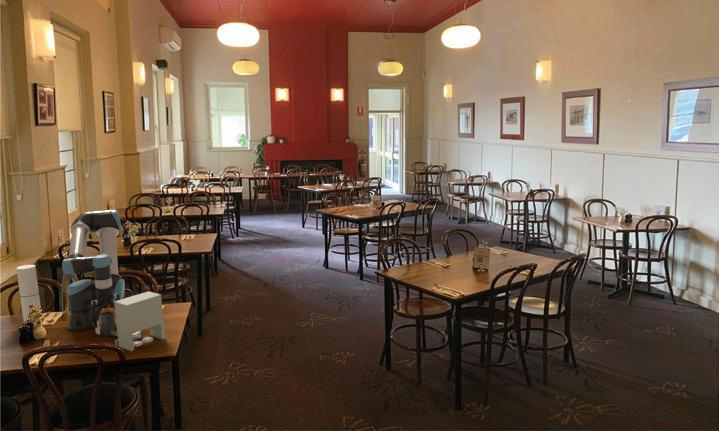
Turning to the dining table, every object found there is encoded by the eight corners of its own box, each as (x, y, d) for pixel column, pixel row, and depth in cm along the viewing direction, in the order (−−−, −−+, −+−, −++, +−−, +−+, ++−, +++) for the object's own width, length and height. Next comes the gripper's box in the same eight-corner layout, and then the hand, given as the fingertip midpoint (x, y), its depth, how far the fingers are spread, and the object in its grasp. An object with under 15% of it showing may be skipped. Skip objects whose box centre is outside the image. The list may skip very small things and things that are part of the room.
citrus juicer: (71, 319, 312) (65, 264, 306) (55, 318, 313) (48, 264, 308) (85, 312, 323) (79, 259, 317) (69, 311, 324) (62, 259, 319)
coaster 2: (140, 341, 278) (140, 339, 278) (149, 338, 282) (149, 336, 282) (146, 344, 275) (146, 341, 275) (155, 340, 279) (155, 338, 279)
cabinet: (119, 346, 272) (114, 301, 268) (152, 334, 286) (148, 291, 282) (131, 351, 266) (126, 305, 262) (165, 338, 280) (160, 294, 277)
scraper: (94, 337, 284) (91, 316, 282) (118, 329, 294) (116, 308, 292) (116, 346, 272) (114, 324, 270) (141, 337, 283) (139, 316, 281)
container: (21, 321, 310) (14, 267, 305) (39, 317, 316) (32, 263, 311) (26, 325, 304) (19, 270, 299) (44, 321, 310) (37, 266, 305)
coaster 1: (129, 345, 274) (128, 343, 273) (138, 342, 277) (138, 340, 277) (134, 348, 271) (134, 345, 270) (144, 344, 274) (144, 342, 274)
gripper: (85, 294, 272) (90, 339, 276) (129, 282, 290) (134, 324, 294) (77, 291, 277) (82, 335, 281) (121, 279, 295) (125, 321, 299)
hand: (108, 330), depth 287 cm, fingers open, 10 cm apart
